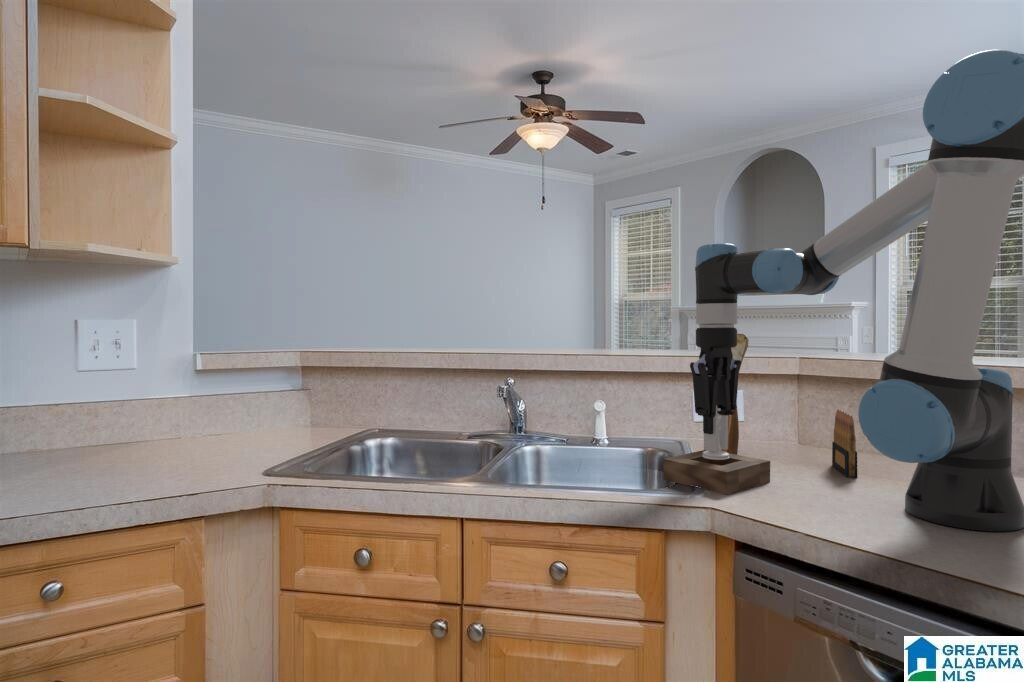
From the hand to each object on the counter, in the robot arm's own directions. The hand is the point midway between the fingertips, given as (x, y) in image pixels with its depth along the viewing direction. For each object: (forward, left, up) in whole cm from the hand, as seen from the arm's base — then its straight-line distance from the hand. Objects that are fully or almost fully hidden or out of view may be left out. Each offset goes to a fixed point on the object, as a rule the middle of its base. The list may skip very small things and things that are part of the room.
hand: (715, 449), depth 120 cm
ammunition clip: (-12, -26, -6) cm, 29 cm away
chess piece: (0, 0, -2) cm, 2 cm away
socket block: (0, 0, -6) cm, 6 cm away
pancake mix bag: (+13, -23, -6) cm, 27 cm away
